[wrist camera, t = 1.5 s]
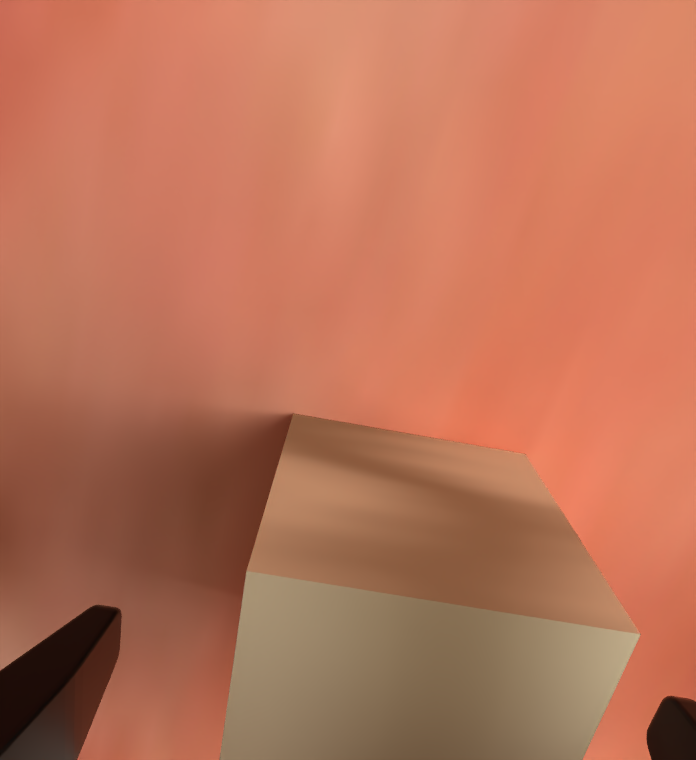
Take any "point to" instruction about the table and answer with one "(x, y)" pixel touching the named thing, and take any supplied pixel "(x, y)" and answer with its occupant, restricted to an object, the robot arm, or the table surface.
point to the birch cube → (418, 608)
